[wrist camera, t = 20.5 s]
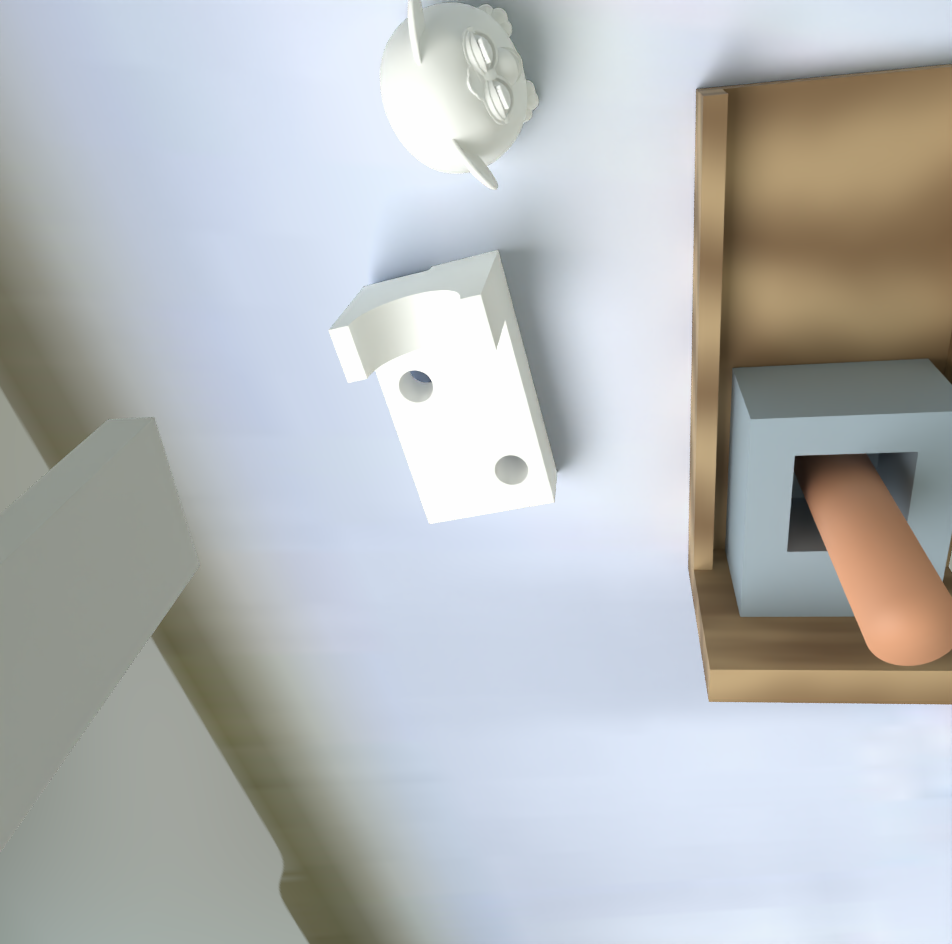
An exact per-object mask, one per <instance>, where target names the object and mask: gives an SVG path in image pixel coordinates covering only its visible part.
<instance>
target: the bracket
mask: <svg viewBox="0 0 952 944" xmlns="http://www.w3.org/2000/svg"><path fill="white" fill-rule="evenodd" d="M329 333H330V335H331V338H332V341H333V344H334V346H335V349H336V352H337V354H338V357H339V360H340V362H341V365H342V368H343V371H344V373H345V376H346V379H347V381H348V383H350V382H354V381H359V380H364V379H367V378H368V377H369V376H370V374H371V373H373V372H374V371H376V374H377V377H378V380H379V383H380V385H381V388H382V391H383V394H384V397H385V400H386V402H387V405H388V408H389V411H390V414H391V417H392V419H393V422H394V425H395V428H396V431H397V434H398V436H399V439H400V442H401V445H402V448H403V451H404V454H405V456H406V459H407V462H408V465H409V468H410V471H411V473H412V476H413V479H414V482H415V485H416V488H417V490H418V493H419V496H420V499H421V502H422V505H423V508H424V510H425V513H426V516H427V519H428V522H429V524H432V523H438V522H444V521H449V520H455V519H461V518H467V517H472V516H478V515H484V514H490V513H496V512H501V511H507V510H513V509H519V508H524V507H530V506H536V505H542V504H548V503H553V502H555V492H556V481H557V470H556V466H555V462H554V458H553V455H552V451H551V447H550V443H549V440H548V436H547V432H546V428H545V425H544V421H543V417H542V413H541V409H540V406H539V402H538V398H537V394H536V391H535V387H534V383H533V379H532V375H531V372H530V368H529V364H528V360H527V357H526V353H525V349H524V345H523V341H522V338H521V334H520V330H519V326H518V323H517V319H516V315H515V311H514V307H513V304H512V300H511V296H510V292H509V289H508V285H507V281H506V277H505V273H504V270H503V266H502V262H501V258H500V255H499V251H498V250H495V251H491V252H487V253H483V254H479V255H475V256H471V257H467V258H463V259H459V260H455V261H451V262H447V263H443V264H439V265H435V266H431V268H430V269H429V270H427V271H423V272H419V273H415V274H411V275H407V276H403V277H399V278H395V279H391V280H387V281H383V282H379V283H375V284H371V285H367V286H364V287H363V288H362V289H361V290H360V292H359V293H358V294H357V295H356V297H355V298H354V299H353V300H352V302H351V303H350V304H349V305H348V307H347V308H346V309H345V310H344V312H343V313H342V314H341V315H340V317H339V318H338V319H337V320H336V322H335V323H334V324H333V325H332V327H331V328H330V329H329ZM412 370H417V371H421V372H423V373H425V374H426V375H427V376H428V377H429V378H430V379H431V381H432V382H428V383H424V382H420V381H418V380H416V379H415V378H414V377H413V376H412V375H411V373H410V371H412Z"/></svg>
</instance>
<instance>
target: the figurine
mask: <svg viewBox="0 0 952 944" xmlns="http://www.w3.org/2000/svg"><path fill="white" fill-rule="evenodd" d="M511 34H512V26H511V24H510V22H509V21H508V16H507V14H506V12H505V11H504V10H503V9H502V8H495V9H493V8H492V7H491V6H490V5H488V4H484V5H481V6H479V7H478V8H476V7H473V6H471V5H467V4H463V3H454V2H446V3H439V4H434V5H431V6H428V7H425V8H423V9H422V4H421V0H408V18H407V19H405V20H404V21H403V22H402V23H401V24H400V25H399V26H398V27H397V29H396V30H395V31H394V32H393V34H392V35H391V37H390V39H389V40H388V42H387V44H386V47H385V49H384V52H383V56H382V60H381V66H380V89H381V96H382V101H383V105H384V108H385V112H386V115H387V117H388V120H389V122H390V124H391V126H392V128H393V130H394V132H395V133H396V135H397V137H398V138H399V140H400V141H401V142H402V144H403V145H404V146H405V147H406V149H407V150H408V151H409V152H410V153H411V154H412V155H413V156H414V157H415V158H417V159H418V160H419V161H420V162H422V163H423V164H425V165H427V166H428V167H430V168H432V169H435V170H437V171H440V172H445V173H451V174H462V173H469V172H471V173H472V174H473V175H474V176H475V177H476V178H477V179H478V180H479V181H480V182H481V183H483V184H484V185H485V186H487V187H488V188H490V189H493V190H496V189H497V188H498V184H497V181H496V179H495V178H494V176H493V174H492V173H491V171H490V170H489V168H488V167H487V166H488V165H490V164H492V163H493V162H495V161H496V160H497V159H499V158H500V157H501V156H502V155H503V154H504V153H505V152H506V151H508V149H509V148H510V147H511V146H512V145H513V143H514V142H515V140H516V138H517V137H518V135H519V133H520V131H521V128H522V126H523V123H525V122H527V121H529V120H530V119H531V117H532V113H533V112H532V110H534V109H535V108H536V107H537V106H538V104H539V98H538V95H537V94H536V93H535V87H534V85H533V83H532V82H531V81H529V80H526V79H525V74H524V70H523V62H522V59H521V56H520V55H519V53H518V52H517V50H516V48H515V46H514V45H513V43H512V41H511V39H510V38H509V37H510V36H511Z"/></svg>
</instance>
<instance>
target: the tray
mask: <svg viewBox="0 0 952 944" xmlns="http://www.w3.org/2000/svg"><path fill="white" fill-rule="evenodd" d="M908 359H929V360H930V361H931V362H932V363H933V364H934V366H935V367H936V368H937V369H938V370H939V371H940V372H941V373H942V374H943V376H944V377H945V378H946V379H947V380H948V381H949V382H950V383H951V384H952V64H947V65H936V66H926V67H916V68H906V69H896V70H886V71H875V72H865V73H855V74H845V75H835V76H825V77H814V78H804V79H794V80H784V81H774V82H764V83H753V84H743V85H733V86H723V87H713V88H703V89H696V133H695V193H694V253H693V313H692V373H691V433H690V493H689V554H688V570H689V576H690V583H691V589H692V596H693V602H694V609H695V615H696V622H697V628H698V634H699V641H700V647H701V654H702V660H703V667H704V673H705V680H706V686H707V693H708V699H709V702H784V703H873V704H952V650H950V651H949V652H948V653H947V654H945V655H944V656H942V657H940V658H939V659H936V660H934V661H932V662H929V663H925V664H921V665H915V666H900V665H894V664H890V663H887V662H885V661H883V660H881V659H879V658H878V657H876V656H875V655H874V654H873V653H872V652H871V651H870V650H869V648H868V646H867V644H866V642H865V639H864V637H863V635H862V632H861V630H860V628H859V625H858V623H857V620H856V618H855V616H852V617H740V614H739V609H738V605H737V601H736V596H735V592H734V587H733V583H732V578H731V574H730V569H729V565H728V561H727V556H726V552H725V540H726V515H727V491H728V466H729V442H730V417H731V393H732V368H742V367H763V366H784V365H804V364H825V363H846V362H867V361H888V360H908ZM951 551H952V535H951V540H950V545H949V551H948V556H947V561H946V567H945V572H944V577H943V583H944V585H945V587H946V588H947V590H948V592H949V593H950V595H951V597H952V572H951V570H950V569H949V561H950V556H951Z"/></svg>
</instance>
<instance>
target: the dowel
mask: <svg viewBox="0 0 952 944" xmlns="http://www.w3.org/2000/svg"><path fill="white" fill-rule="evenodd" d="M794 473H795V475H796V478H797V480H798V483H799V485H800V487H801V490H802V492H803V494H804V497H805V499H806V502H807V504H808V506H809V509H810V511H811V513H812V516H813V518H814V521H815V523H816V525H817V528H818V530H819V532H820V535H821V537H822V540H823V542H824V544H825V547H826V549H827V551H828V554H829V556H830V559H831V561H832V563H833V566H834V568H835V570H836V573H837V575H838V578H839V580H840V582H841V585H842V587H843V590H844V592H845V594H846V597H847V599H848V601H849V604H850V606H851V609H852V611H853V613H854V616H855V618H856V620H857V623H858V625H859V628H860V630H861V632H862V635H863V637H864V639H865V642H866V644H867V646H868V648H869V650H870V651H871V652H872V653H873V654H874V655H875V656H876V657H878V658H879V659H881V660H883V661H885V662H887V663H890V664H894V665H900V666H915V665H921V664H925V663H929V662H932V661H934V660H936V659H939V658H940V657H942V656H944V655H945V654H947V653H948V652H949V651H950V650H952V597H951V595H950V593H949V592H948V590H947V588H946V587H945V585H944V583H943V582H942V580H941V578H940V577H939V575H938V573H937V572H936V570H935V568H934V566H933V565H932V563H931V561H930V560H929V558H928V556H927V555H926V553H925V551H924V550H923V548H922V546H921V545H920V543H919V541H918V540H917V538H916V536H915V534H914V533H913V531H912V529H911V528H910V526H909V524H908V523H907V521H906V519H905V518H904V516H903V514H902V513H901V511H900V509H899V508H898V506H897V504H896V502H895V501H894V499H893V497H892V496H891V494H890V492H889V491H888V489H887V487H886V486H885V484H884V482H883V481H882V479H881V477H880V476H879V474H878V472H877V471H876V469H875V467H874V465H873V464H872V462H871V460H870V459H869V457H868V455H867V454H866V453H864V454H833V455H802V456H795V460H794Z"/></svg>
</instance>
